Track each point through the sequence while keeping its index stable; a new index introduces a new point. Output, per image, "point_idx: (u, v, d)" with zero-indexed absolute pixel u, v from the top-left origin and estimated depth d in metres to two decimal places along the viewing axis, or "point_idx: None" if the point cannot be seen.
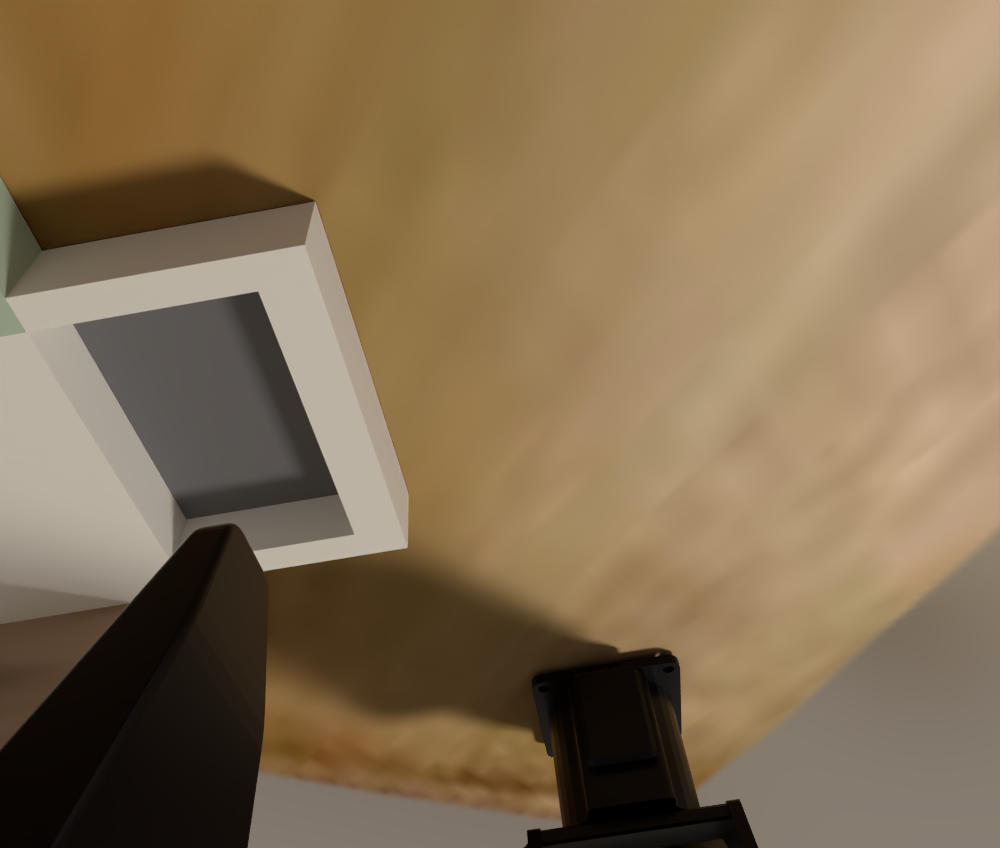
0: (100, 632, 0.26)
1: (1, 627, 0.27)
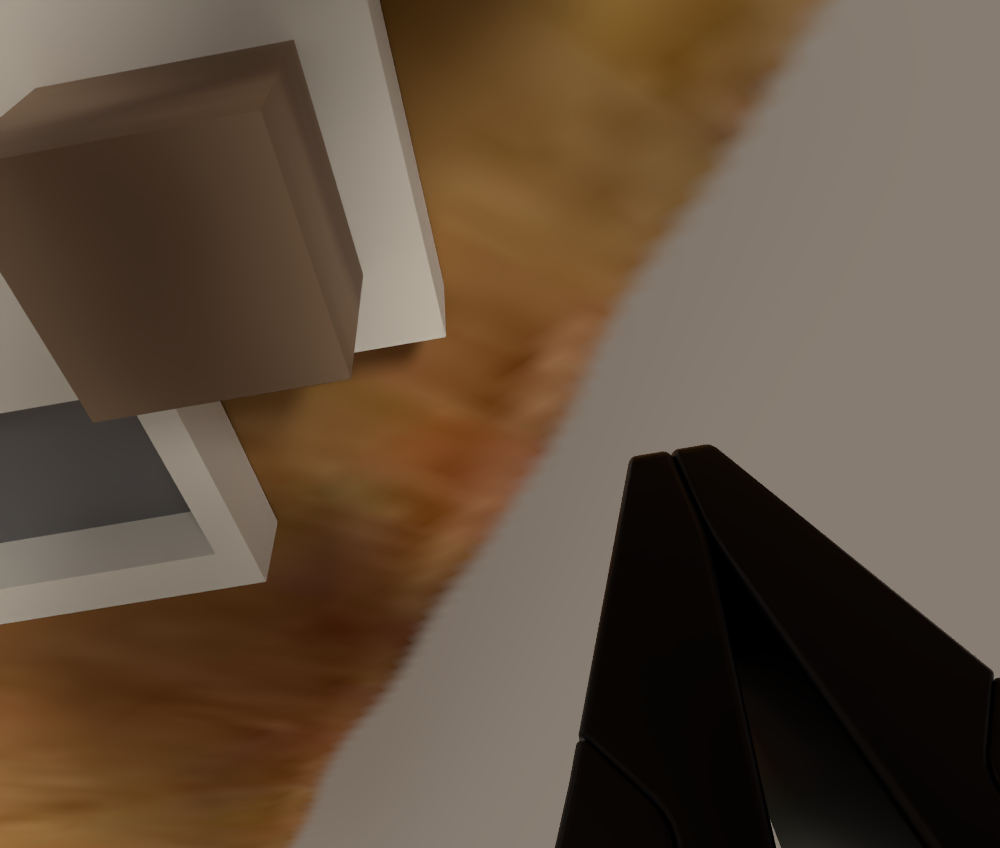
0: None
1: None
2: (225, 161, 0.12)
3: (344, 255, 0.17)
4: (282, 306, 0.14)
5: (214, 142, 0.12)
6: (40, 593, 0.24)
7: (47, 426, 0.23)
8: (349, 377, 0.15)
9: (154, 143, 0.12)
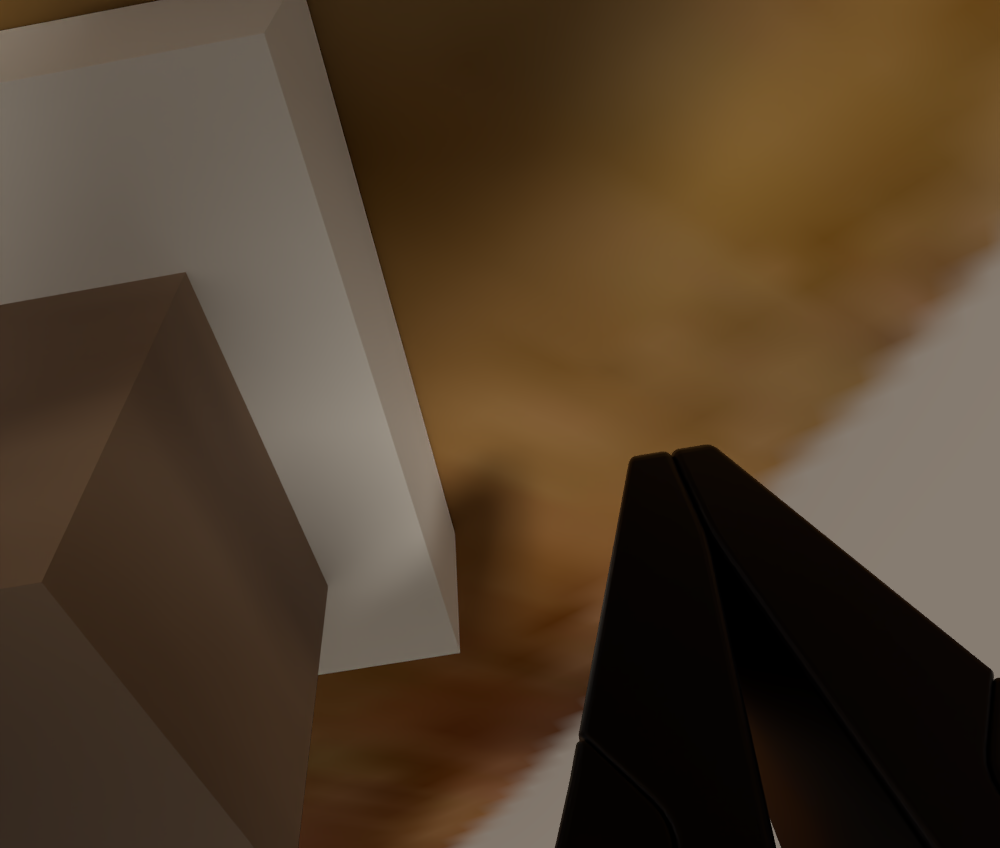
0: None
1: None
2: None
3: (289, 611, 0.10)
4: (148, 830, 0.07)
5: None
6: None
7: None
8: None
9: None
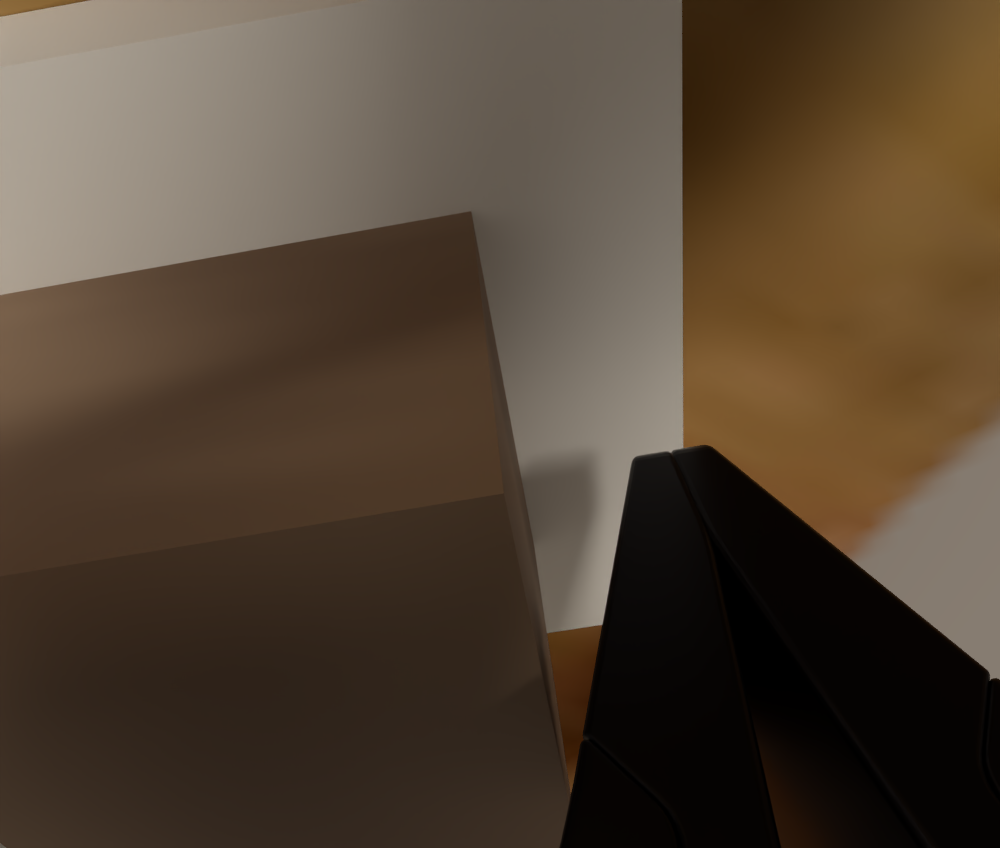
0: None
1: None
2: (403, 581, 0.05)
3: (533, 564, 0.09)
4: (474, 771, 0.07)
5: (380, 552, 0.05)
6: None
7: None
8: None
9: (241, 557, 0.05)
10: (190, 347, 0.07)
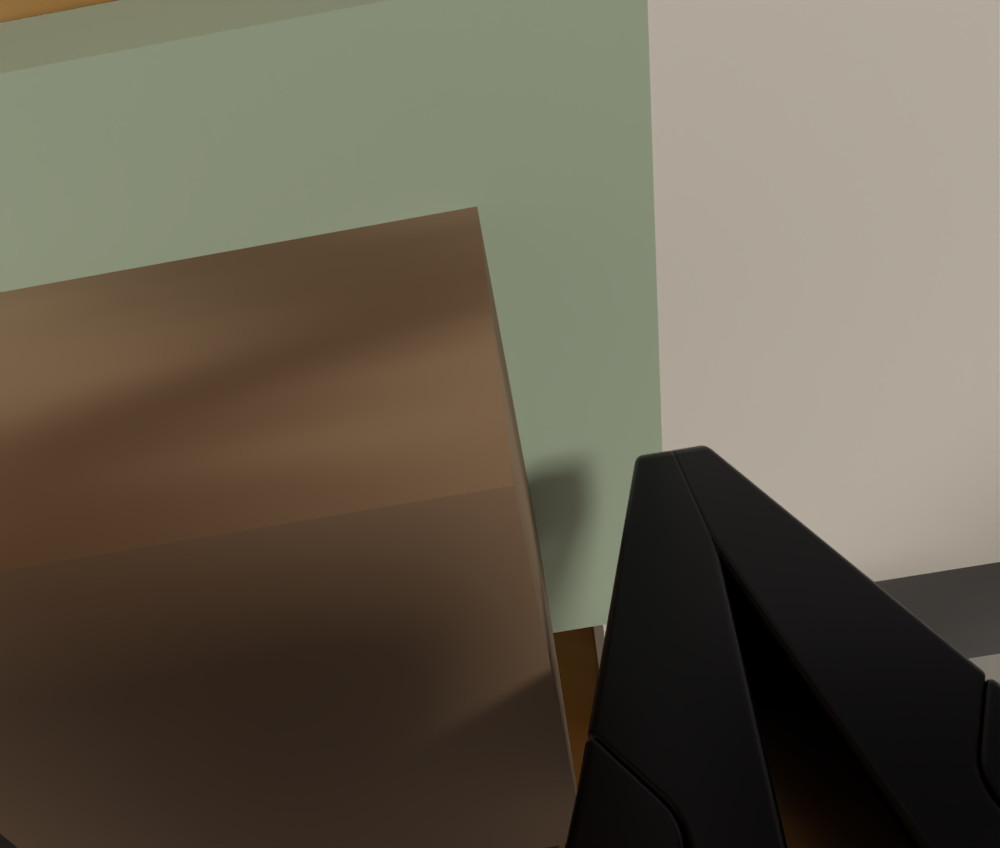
0: None
1: None
2: (412, 572, 0.05)
3: (539, 560, 0.09)
4: (482, 767, 0.07)
5: (391, 543, 0.05)
6: None
7: None
8: None
9: (248, 551, 0.05)
10: (197, 342, 0.07)
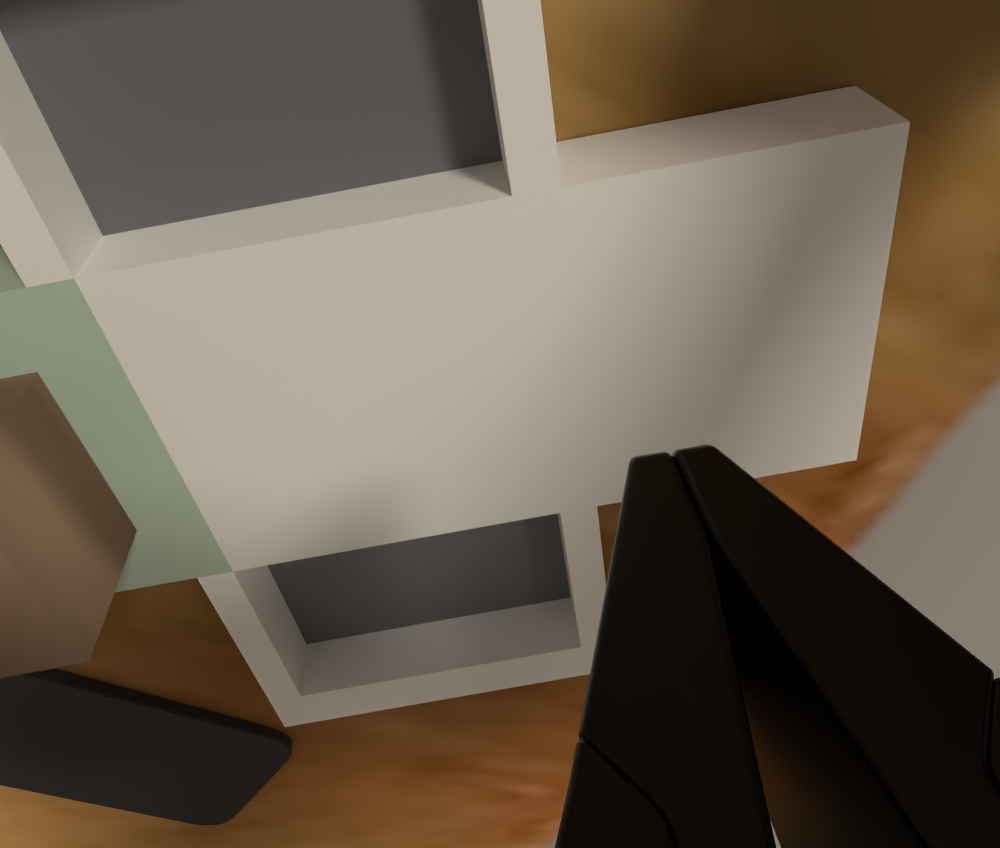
0: None
1: None
2: None
3: (100, 536, 0.19)
4: (13, 618, 0.17)
5: None
6: (411, 685, 0.26)
7: None
8: (87, 661, 0.18)
9: None
10: None
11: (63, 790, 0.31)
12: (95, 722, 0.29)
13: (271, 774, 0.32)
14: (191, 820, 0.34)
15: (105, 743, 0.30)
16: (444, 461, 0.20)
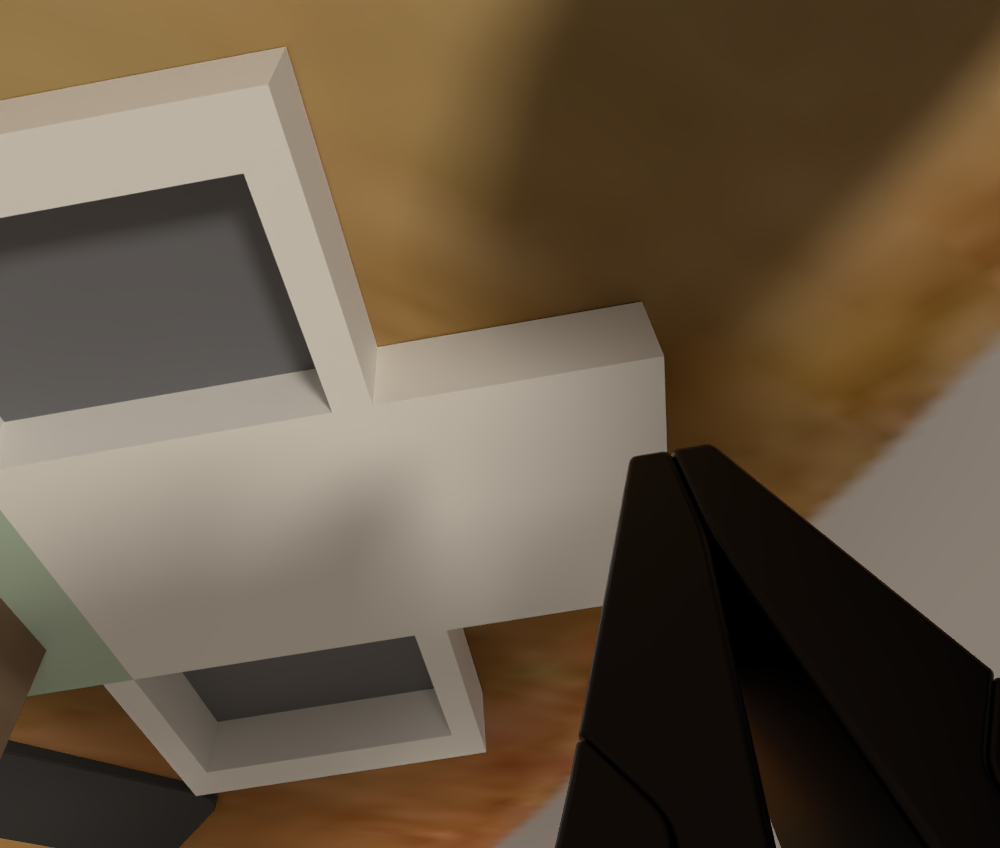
0: None
1: None
2: None
3: (7, 665, 0.22)
4: None
5: None
6: (304, 764, 0.29)
7: None
8: None
9: None
10: None
11: (14, 834, 0.35)
12: (36, 781, 0.33)
13: (200, 822, 0.36)
14: None
15: (47, 798, 0.34)
16: (305, 598, 0.24)
